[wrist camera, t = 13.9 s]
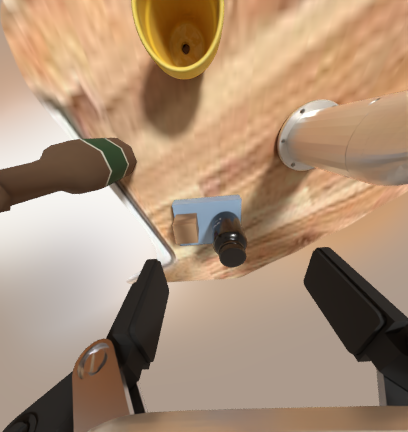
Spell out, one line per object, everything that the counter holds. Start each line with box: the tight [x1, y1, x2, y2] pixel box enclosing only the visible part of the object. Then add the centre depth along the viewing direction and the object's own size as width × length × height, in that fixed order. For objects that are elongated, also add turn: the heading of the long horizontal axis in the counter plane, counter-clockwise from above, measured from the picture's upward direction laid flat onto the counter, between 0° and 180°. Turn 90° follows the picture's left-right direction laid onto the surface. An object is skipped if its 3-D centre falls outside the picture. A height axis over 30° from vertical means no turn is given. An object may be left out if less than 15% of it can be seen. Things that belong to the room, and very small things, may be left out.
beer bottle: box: [0, 138, 136, 212], centre depth 22 cm, size 8×8×24 cm
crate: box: [172, 213, 199, 244], centre depth 35 cm, size 5×5×5 cm
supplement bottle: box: [212, 211, 247, 267], centre depth 32 cm, size 7×7×12 cm
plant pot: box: [131, 0, 224, 79], centre depth 21 cm, size 10×10×10 cm
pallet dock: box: [172, 195, 241, 246], centre depth 39 cm, size 16×12×3 cm
